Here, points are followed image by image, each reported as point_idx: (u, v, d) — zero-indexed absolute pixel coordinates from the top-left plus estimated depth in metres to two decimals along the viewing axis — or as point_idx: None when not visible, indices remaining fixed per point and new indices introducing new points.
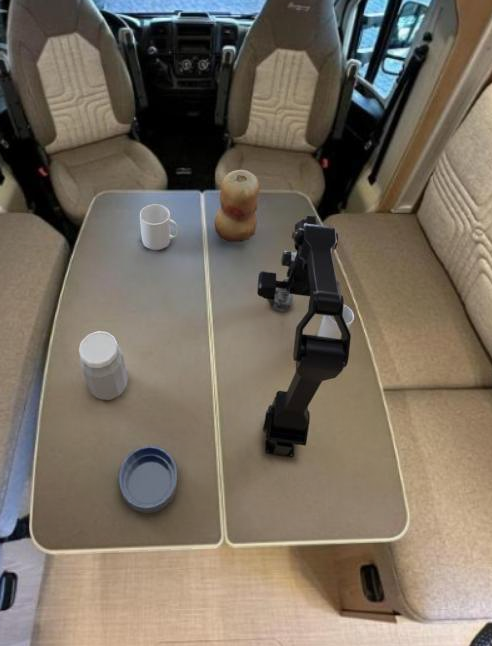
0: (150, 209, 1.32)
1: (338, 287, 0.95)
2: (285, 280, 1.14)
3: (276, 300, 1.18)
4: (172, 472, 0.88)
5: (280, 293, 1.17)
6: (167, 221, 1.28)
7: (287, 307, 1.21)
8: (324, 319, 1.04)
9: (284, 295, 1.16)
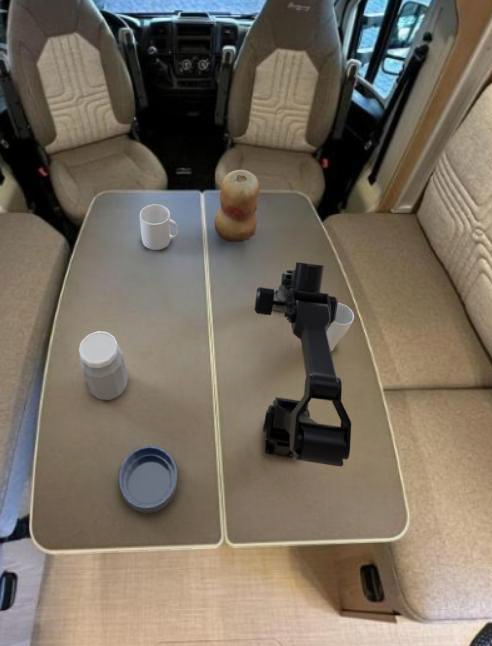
0: (150, 209, 1.32)
1: (335, 309, 0.96)
2: None
3: None
4: (172, 472, 0.88)
5: (280, 293, 1.17)
6: (167, 221, 1.28)
7: None
8: None
9: (284, 295, 1.16)
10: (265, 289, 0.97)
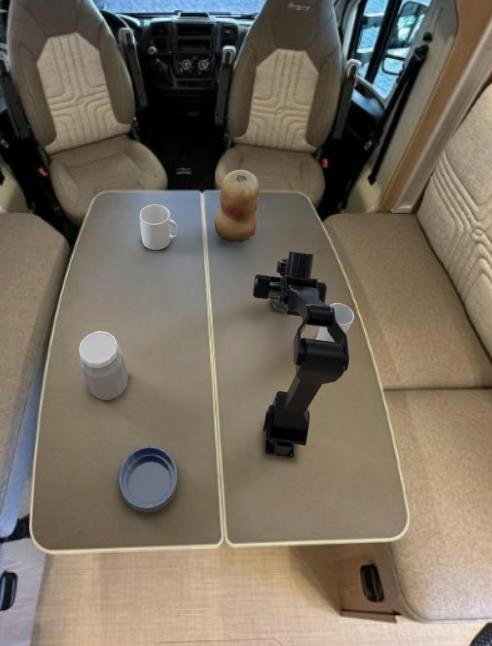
0: (150, 209, 1.32)
1: (325, 293, 1.07)
2: None
3: (276, 300, 1.18)
4: (172, 472, 0.88)
5: None
6: (167, 221, 1.28)
7: None
8: None
9: None
10: (262, 276, 1.09)
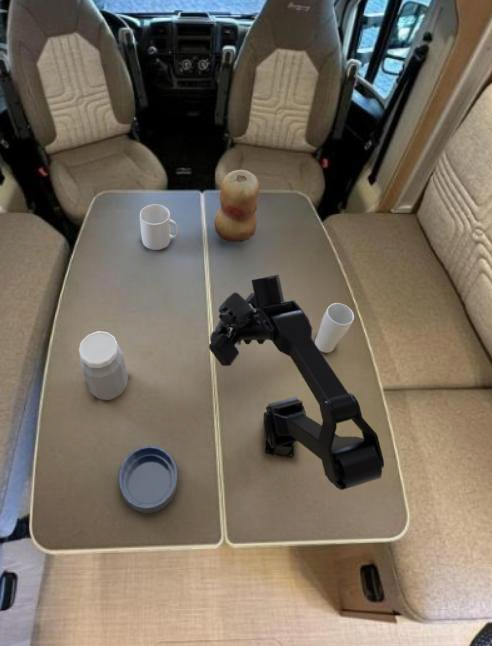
0: (150, 209, 1.32)
1: None
2: (222, 323, 0.96)
3: None
4: (172, 472, 0.88)
5: None
6: (167, 221, 1.28)
7: None
8: (324, 319, 1.04)
9: None
10: (219, 341, 0.88)
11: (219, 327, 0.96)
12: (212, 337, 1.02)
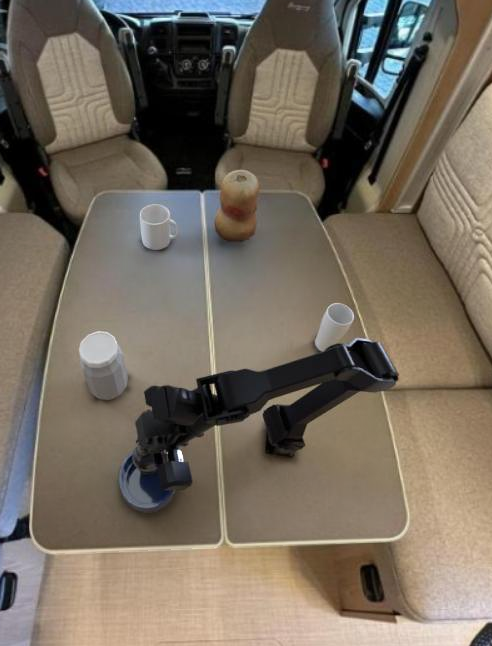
0: (150, 209, 1.32)
1: None
2: None
3: None
4: None
5: None
6: (167, 221, 1.28)
7: None
8: (324, 319, 1.04)
9: None
10: (168, 475, 0.71)
11: (143, 453, 0.78)
12: (137, 463, 0.82)
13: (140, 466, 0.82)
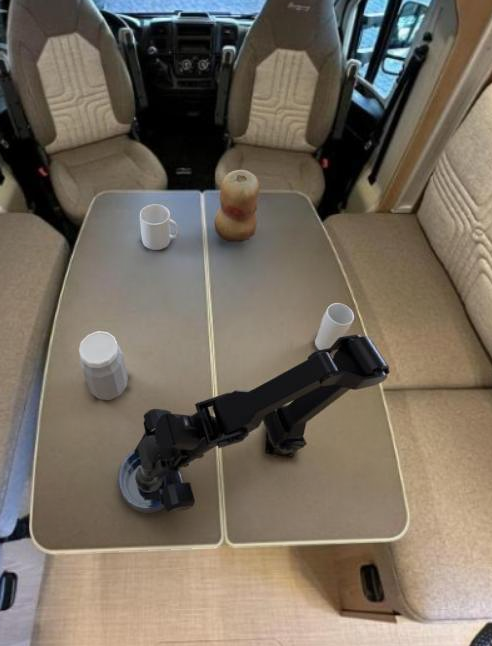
0: (150, 209, 1.32)
1: (161, 410, 0.85)
2: None
3: (159, 483, 0.86)
4: None
5: (154, 478, 0.84)
6: (167, 221, 1.28)
7: None
8: (324, 319, 1.04)
9: None
10: (171, 497, 0.73)
11: (147, 475, 0.81)
12: (141, 485, 0.85)
13: (143, 488, 0.85)
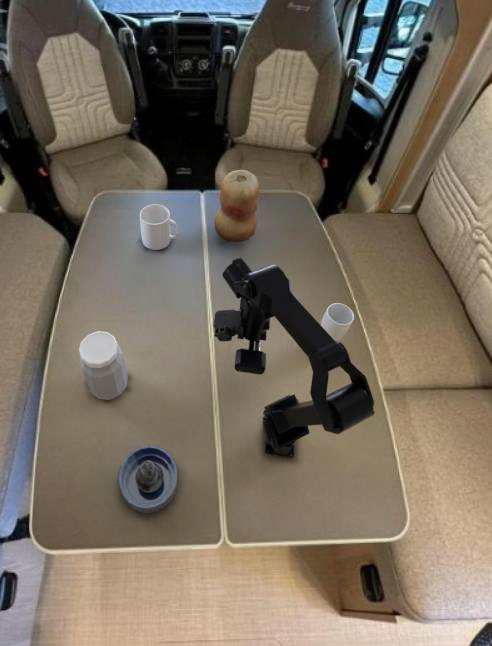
0: (150, 209, 1.32)
1: None
2: (148, 470, 0.81)
3: (159, 483, 0.86)
4: (172, 472, 0.88)
5: None
6: (167, 221, 1.28)
7: None
8: (324, 319, 1.04)
9: None
10: (237, 358, 0.85)
11: (147, 475, 0.81)
12: (141, 485, 0.85)
13: (143, 488, 0.85)
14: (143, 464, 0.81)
